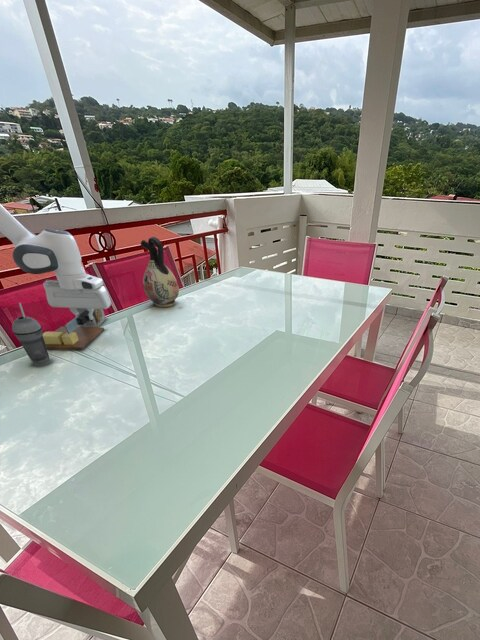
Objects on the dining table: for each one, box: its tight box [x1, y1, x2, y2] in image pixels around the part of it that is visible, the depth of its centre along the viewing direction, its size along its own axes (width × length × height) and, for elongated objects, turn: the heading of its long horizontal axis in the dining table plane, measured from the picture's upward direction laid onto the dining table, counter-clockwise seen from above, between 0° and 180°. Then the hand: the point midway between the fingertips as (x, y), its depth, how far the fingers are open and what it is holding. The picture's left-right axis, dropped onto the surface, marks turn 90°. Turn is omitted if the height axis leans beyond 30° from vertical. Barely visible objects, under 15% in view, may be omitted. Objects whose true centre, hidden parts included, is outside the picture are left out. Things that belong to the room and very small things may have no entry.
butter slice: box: [62, 332, 78, 345], centre depth 117 cm, size 3×4×3 cm
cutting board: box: [46, 326, 105, 351], centre depth 122 cm, size 16×18×1 cm
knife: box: [64, 310, 94, 334], centre depth 118 cm, size 2×17×3 cm, turn 4°
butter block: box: [43, 331, 64, 344], centre depth 117 cm, size 6×4×3 cm, turn 93°
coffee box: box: [76, 308, 106, 327], centre depth 131 cm, size 9×6×16 cm
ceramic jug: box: [140, 236, 180, 308], centre depth 150 cm, size 17×15×30 cm
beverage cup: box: [11, 302, 51, 368], centre depth 102 cm, size 7×7×20 cm
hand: (85, 319), depth 122 cm, fingers closed on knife, 2 cm apart
